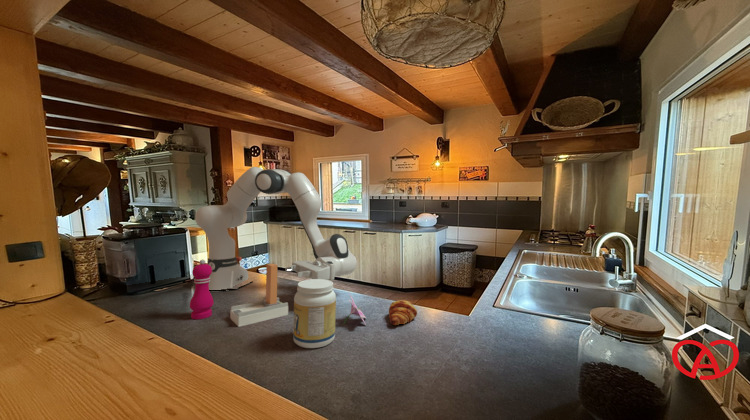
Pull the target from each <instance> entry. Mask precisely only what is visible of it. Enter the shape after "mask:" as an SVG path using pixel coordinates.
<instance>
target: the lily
mask: <svg viewBox="0 0 750 420" xmlns="http://www.w3.org/2000/svg"><path fill="white" fill-rule="evenodd" d="M347 294H348V295H349V296H350V298H351V299H348V301H349V303H350V304H351V308H350V313H349V314H348V315H347V316H346V318H345V320H344V321H343V325H345V323H346V322H347V320H348V318H349V317H350V316H351V315H354V316H356V317H359V318H360V319H361V321H363V323H364V325H365V326H367V323H366V322H365V320H364V318H365V319H366V316H365V314H364V313H363V311H362V307H361V305H359V306H357V305H356V303H355V300H354V298H353V297H352V295H351V294H350V292H349V291H347Z"/></svg>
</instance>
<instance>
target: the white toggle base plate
mask: <svg viewBox="0 0 750 420" xmlns="http://www.w3.org/2000/svg"><path fill="white" fill-rule="evenodd" d="M263 301H266V299H263V300H258V301H252V302H247V303H243V304H239V305H232V306H230V317H229V318H230V320H231V321H232V322H233V323H234V324H235V325H236V326H237V327H238V328H239V327H243V326H244V327H245V326H247V325H252V324H256V323H261V322H264V321H268V320H272V319H276V318H277V319H278V318H279V317H285V316H288V315H289V303H288V302H282V301H280V297H279V296H277V302H279V303H280V304H277V305H273V306H268V307H266V306H265V305H263Z"/></svg>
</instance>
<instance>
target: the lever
mask: <svg viewBox="0 0 750 420" xmlns="http://www.w3.org/2000/svg"><path fill="white" fill-rule="evenodd" d="M265 272H266V274H265V275H266V277H265V278H266V279H265V281H266V284H265V289H266V290H265V300H266V301H263V305H265V306H266V307H268V306H273V305H277V304H280V303H279V302H277V297H278V264H276V263H266V271H265Z"/></svg>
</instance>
